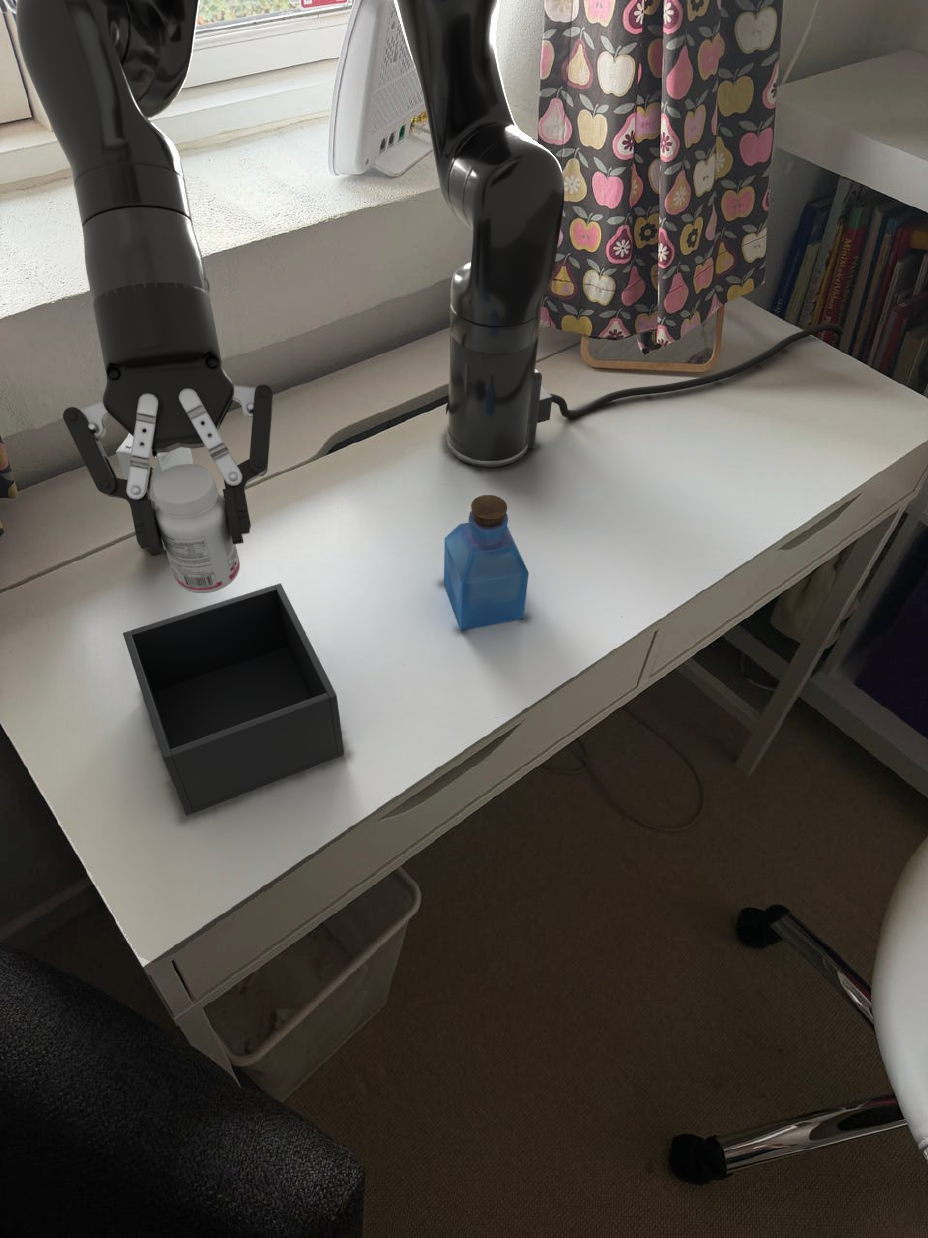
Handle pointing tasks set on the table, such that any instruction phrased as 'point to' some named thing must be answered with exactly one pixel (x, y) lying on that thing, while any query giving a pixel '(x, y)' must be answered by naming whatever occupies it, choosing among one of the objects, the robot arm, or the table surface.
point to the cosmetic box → (163, 462)
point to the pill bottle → (195, 528)
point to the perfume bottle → (484, 567)
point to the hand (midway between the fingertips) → (198, 548)
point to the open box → (235, 696)
